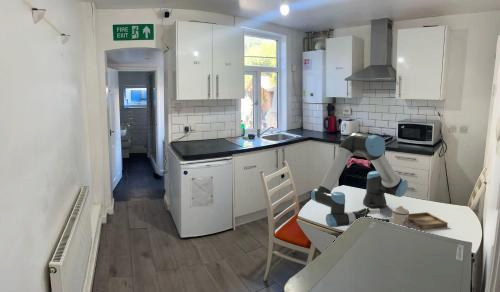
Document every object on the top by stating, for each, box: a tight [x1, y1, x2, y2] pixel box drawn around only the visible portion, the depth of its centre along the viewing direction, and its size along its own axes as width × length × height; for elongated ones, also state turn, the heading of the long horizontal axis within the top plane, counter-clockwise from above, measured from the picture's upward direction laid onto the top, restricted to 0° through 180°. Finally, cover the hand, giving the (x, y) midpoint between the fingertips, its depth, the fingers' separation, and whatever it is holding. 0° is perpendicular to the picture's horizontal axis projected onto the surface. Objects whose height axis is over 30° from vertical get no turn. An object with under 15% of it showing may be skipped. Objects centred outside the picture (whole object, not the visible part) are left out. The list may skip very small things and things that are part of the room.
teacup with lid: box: [391, 205, 410, 228], centre depth 207 cm, size 12×9×12 cm
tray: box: [408, 211, 448, 230], centre depth 210 cm, size 17×17×2 cm
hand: (386, 215), depth 205 cm, fingers open, 13 cm apart
